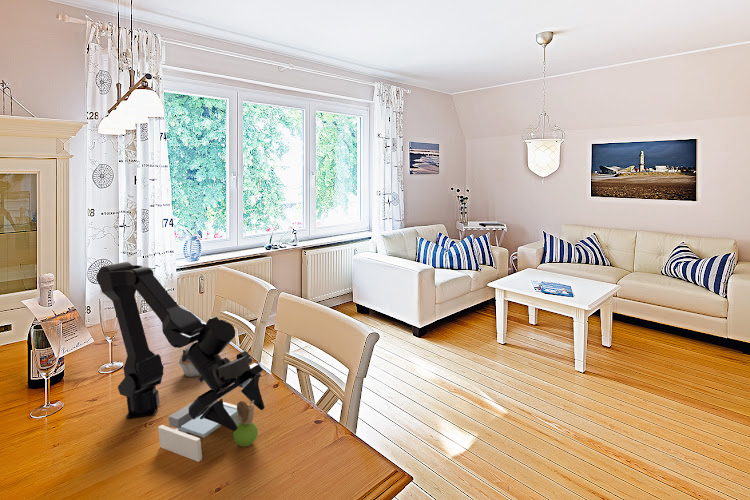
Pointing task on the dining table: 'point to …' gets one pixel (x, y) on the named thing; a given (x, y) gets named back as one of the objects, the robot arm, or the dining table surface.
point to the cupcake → (188, 366)
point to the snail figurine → (245, 425)
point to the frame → (185, 439)
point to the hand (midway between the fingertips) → (250, 419)
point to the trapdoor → (195, 422)
